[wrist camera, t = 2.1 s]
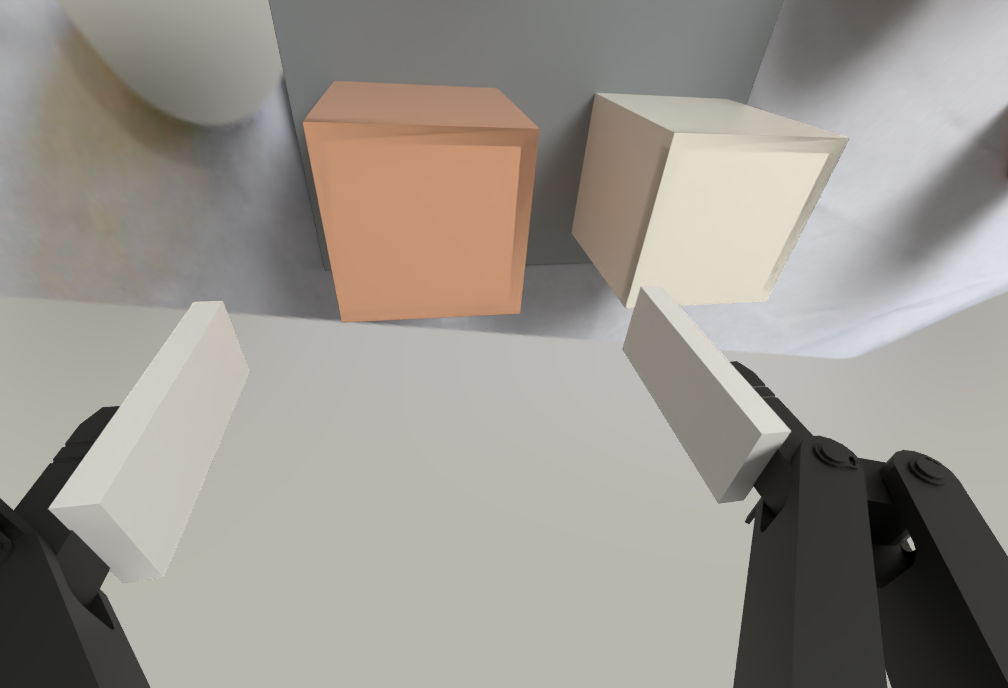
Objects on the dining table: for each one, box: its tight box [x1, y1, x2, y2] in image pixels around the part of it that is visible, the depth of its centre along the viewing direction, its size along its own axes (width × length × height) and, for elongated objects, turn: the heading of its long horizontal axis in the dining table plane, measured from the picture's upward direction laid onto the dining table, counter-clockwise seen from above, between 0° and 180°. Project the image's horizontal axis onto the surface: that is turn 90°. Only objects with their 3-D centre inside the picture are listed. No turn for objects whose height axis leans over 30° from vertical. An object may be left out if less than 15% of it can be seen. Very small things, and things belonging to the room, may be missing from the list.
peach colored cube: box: [303, 81, 539, 322], centre depth 24 cm, size 9×9×10 cm
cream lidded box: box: [572, 93, 850, 308], centre depth 26 cm, size 9×9×10 cm
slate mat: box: [269, 0, 783, 271], centre depth 26 cm, size 28×22×1 cm
